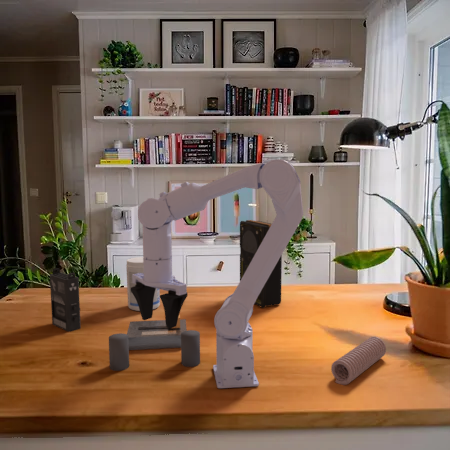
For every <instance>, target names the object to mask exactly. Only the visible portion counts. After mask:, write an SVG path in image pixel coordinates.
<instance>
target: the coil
mask: <svg viewBox="0 0 450 450" xmlns="http://www.w3.org/2000/svg"><path fill="white" fill-rule="evenodd" d="M386 352H387V346H386V344H385V342H384V341H383V339H381V338H380V337H378V336H371V337H369V338H368V339H366V340H365V341H363V342H361V343H360V344H358V345H357V346H355V347H354V348H353V349H351V350H349V351H348V352H347V353H345V354H344V355H342V356H341V357H339V358H338V359H336V360H335V361H334V362H333V363H332V364H331V369H330V370H331V373H332V375H333V377H334V379H335V381H334V383H336V384H339V385H342V386H347V385H349V384H351V382H353V381H354V380H356V378H358V377H359V376H360V375H362V373H364V372H366V371H367V370H368V369H369V368H370V367H371V366H373V365H374V364H376V362H378V361H379V360H380V359H381V358H383V357H384V356H385V355H386Z"/></svg>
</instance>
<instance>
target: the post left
mask: <svg viewBox="0 0 450 450" xmlns="http://www.w3.org/2000/svg"><path fill="white" fill-rule="evenodd" d="M129 352H130V350H129V342H128V335H127V333H115V334H111V335H110V336H109V337H108V355H109V357H108V358H109V359H108V360H109V369H110V370H112V371H115V372H116V371H117V372H119V371H120V372H121V371H125V370H127V369H128V368H129V367H130V356H129V355H130V353H129Z"/></svg>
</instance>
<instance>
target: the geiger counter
mask: <svg viewBox="0 0 450 450" xmlns="http://www.w3.org/2000/svg"><path fill="white" fill-rule="evenodd" d="M60 269H61V268H60V267H59V268H53V269H52V274H51V273H50V274H49V285H50V286H49V287H50V290H49V291H50V303H51V304H50V306H51V307H50V308H51V322H52V323H51V325H53V326H54V327H57V328H60V329H61V330H64V331H65V332H74V331H76V330H77V331H78V330H81V328H82V327H81V306H80V305H81V304H80V286H79V285H80V284H79V283H80V282H79V277H78V276H76V272H71V273H66V274H65V273H64V272H61V270H60Z"/></svg>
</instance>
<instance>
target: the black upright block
mask: <svg viewBox="0 0 450 450" xmlns="http://www.w3.org/2000/svg"><path fill="white" fill-rule="evenodd" d="M271 225H272V223H271V222H265V221H260V220H253V219H246V220H245V221H244V220H241V221H240V222H239V248H240V249H239V251H240V254H239V282H240V281H241V279H242V277H243V275H244V274H245V272H246V270H247V268H248V266H249V264H250V263H251V261H252V259H253V257H254V255H255V254H256V252H257V250H258V248H259V246H260V245H261V243H262V241H263V239H264V237H265V236H266V234H267V232H268V230H269V228H270V227H271ZM282 255H283V254H282ZM282 255H281V257H280V258H279V260H278V262H277V264H276V265H275V267H274V269H273V271H272V273H271V274H270V276H269V278H268V280H267V281H266V283H265V285H264V287H263V288H262V290H261V292H260V294H259V295H258V297H257V299H256V301H255V303H254V305H257V306H258V307H260V308H262V309H263V308H266V307H269V306H276V305H280V304H281V303H282V268H283V267H282V264H283V263H282V258H283V257H282Z"/></svg>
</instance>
